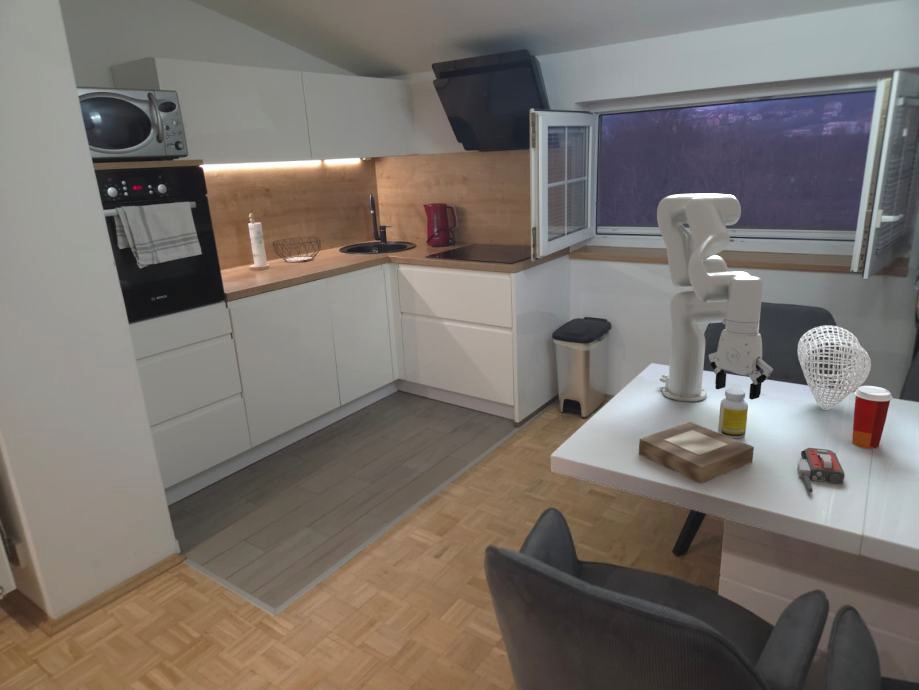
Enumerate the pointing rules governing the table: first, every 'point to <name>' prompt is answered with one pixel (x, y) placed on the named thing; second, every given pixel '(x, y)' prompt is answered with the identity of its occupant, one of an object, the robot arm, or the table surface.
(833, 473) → the walkie-talkie
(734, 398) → the pill bottle
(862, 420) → the paper cup
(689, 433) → the stand
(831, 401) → the heart
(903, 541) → the table surface
